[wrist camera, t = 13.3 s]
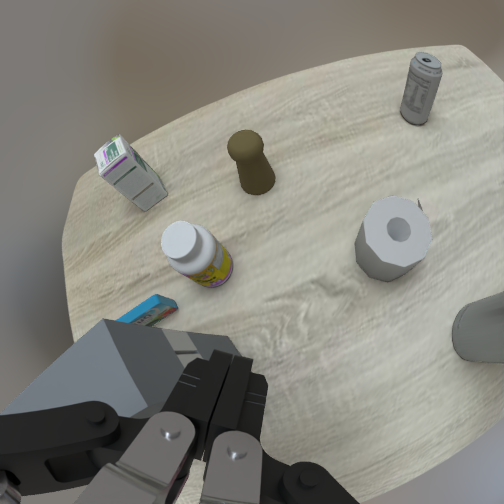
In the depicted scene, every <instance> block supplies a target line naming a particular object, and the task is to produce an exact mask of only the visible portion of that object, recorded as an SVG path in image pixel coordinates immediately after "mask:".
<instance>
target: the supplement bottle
mask: <svg viewBox="0 0 504 504" xmlns="http://www.w3.org/2000/svg"><path fill="white" fill-rule="evenodd" d="M161 247H162V250H163V252H164V253H165V255H167V259H168V261H169V263H170V265H171V266H172V267H173V268H174V269H175V270H176V271H178V272H179V273H181V274H183V275H185V276H186V277H188V278H190V279H192V280H193V281H195V282H197V283H199V284H201V285H203V286H206V287H216V286H219V285H221V284H222V283H224V282H225V281H226V280H227V279H228V278H229V276H230V274H231V272H232V258H231V256H230V254H229V253H228V251H227V250H226V249H225V248H224V247H223V246H222V245H221V244H220V243H219V241H218V240H217V239H216V238H215V237H214V236H213V235H212V234H211V233H210V232H209V230H207V229H206V228H205V227H203V226H201V225H197V224H190V223H189V222H186V221H177V222H174V223H172V224H171V225H169V226H168V227H167V228H166V230H165V231H164V233H163V235H162V238H161Z"/></svg>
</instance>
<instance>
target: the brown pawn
mask: <svg viewBox="0 0 504 504" xmlns="http://www.w3.org/2000/svg"><path fill="white" fill-rule="evenodd" d="M263 148H264V144H263V141H262V138H261V137H260V136H259V134H258V133H256V132H254V131H252V130H241V131H238V132H237V133H235V134H233V135H232V136H231V138H230V139H229V141H228V145H227V149H228V153H229V155H230V156H231V158H232V159H233V160H234V161H236V164H237V169H238V174H239V178H240V183H241V187H242V188H243V190H244V191H245V192H247V193H248V194H251V195H261V194H264V193H266V192H268V191H269V190H270V189H271V188H272V187H273V185H274V183H275V174H274V172H273V170H272V168H271V166H270V164H269V162H268V161H267V159H266V157H265V155H264V153H263Z"/></svg>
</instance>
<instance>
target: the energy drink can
mask: <svg viewBox="0 0 504 504" xmlns="http://www.w3.org/2000/svg"><path fill="white" fill-rule="evenodd" d="M441 77H442V69H441V62H440V61H439V60H438V59H437V58H436V57H434V56H432V55H430V54H428V53H424V52H418V53H416V55H415V57H414V58H412V59H411V62H410V67H409V72H408V77H407V82H406V86H405V91H404V95H403V99H402V103H401V107H400V110H401V113H402V115H403V117H404V118H405V119H406V120H407V121H408V122H410V123H412V124H416V125H419V124H422V123H425V122H426V121H427V119H428V116H429V113H430V111H431V108H432V105H433V102H434V99H435V96H436V93H437V90H438V87H439V84H440V80H441Z"/></svg>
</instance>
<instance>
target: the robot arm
mask: <svg viewBox="0 0 504 504" xmlns="http://www.w3.org/2000/svg"><path fill="white" fill-rule="evenodd" d="M452 338H453V344H454V347H455V350H456V352H457V353H458V354H459V356H460V357H462V358H463V359H465V360H467V361H480V362H487V363H504V291H503V292H501V293H498V294H495V295H493V296H490V297H487V298H484V299H481V300H478V301H476V302H473V303H470V304H467V305H466V306H465V307H463V308H462V309H461V310H460V312H459V313H458V315H457V316H456V319H455V321H454V325H453V331H452ZM232 358H233V354H231V353H227V352H224V351H220V350H217V349H214V350H213V353H212V355H211V357H210V359H209V361H208V360H204V359H201V358H198V357H197V358H196V359H194V360H193V361H191V362H189V363H188V364H187V366H186V367H185V369H184V371H183V373H182V374H181V376H180V378H179V380H178V382H177V383H176V385H175V387H174V388H173V390H172V392H171V394H170V395H169V397H168V399H167V401H166V402H165V404H164V406H163V408H162V409H161V410H160V412H158V413H157V414H155V415H153V416H152V417H149V418H144V419H137V418H129V417H123V416H118V414H117V412H116V411H115V409H114V408H113V407H111V406H110V405H108V404H107V403H104V402H101V401H87V402H82V403H77V404H72V405H67V406H62V407H56V408H50V409H44V410H38V411H31V412H24V413H16V414H8V415H0V504H20V502H21V496H27V495H35V494H43V493H49V492H55V491H60V490H66V489H71V488H75V487H80V486H84V485H88V484H89V485H88V486H87V487H86V489H85V490H84V491H83V492H82V494H81V495H80V496H79V497H78V499H77V500H76V501H75V502H74V504H175V503H176V501H177V499H178V497H179V495H180V493H181V491H182V489H183V487H184V485H185V483H186V481H187V479H188V477H189V473H190V468H191V465H192V462H193V460H194V459H197V460H201V458H202V455H203V452H204V450H205V452H204V457H203V461H204V462H206V467H205V471H204V476H203V480H204V484H203V489H202V493H201V498H200V502H199V504H360V503H358V502H357V501H356V500H355V499H354V498H353V497H352V496H351V495H350V494H349V493H348V492H347V491H346V490H345V489H344V488H343V487H342V486H341V485H340V484H339V483H338V482H337V481H336V480H335V479H334V478H333V477H332V476H331V475H330V474H329V472H328V471H327V470H326V469H324V468H323V467H322V466H320V465H318V464H316V463H312V462H298V463H295V464H293V465H291V466H289V465H286V464H284V463H282V462H279V461H277V460H275V459H273V458H272V457H270V456H269V455H268V454H267V453H266V452H265V451H264V450H263V448H262V446H261V444H260V433H261V427H262V421H263V415H264V409H265V403H266V396H267V390H268V384H267V382H266V379H265V377H264V375H260V374H256V373H252V372H250V371H251V367H252V363H253V359H250V358H246V357H242V356H238V355H234V358H233V360H232Z"/></svg>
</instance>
